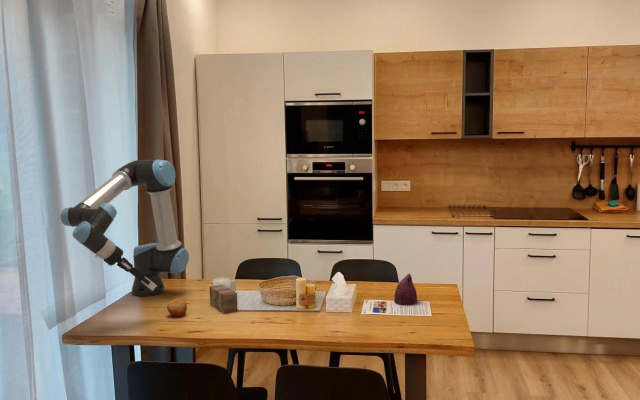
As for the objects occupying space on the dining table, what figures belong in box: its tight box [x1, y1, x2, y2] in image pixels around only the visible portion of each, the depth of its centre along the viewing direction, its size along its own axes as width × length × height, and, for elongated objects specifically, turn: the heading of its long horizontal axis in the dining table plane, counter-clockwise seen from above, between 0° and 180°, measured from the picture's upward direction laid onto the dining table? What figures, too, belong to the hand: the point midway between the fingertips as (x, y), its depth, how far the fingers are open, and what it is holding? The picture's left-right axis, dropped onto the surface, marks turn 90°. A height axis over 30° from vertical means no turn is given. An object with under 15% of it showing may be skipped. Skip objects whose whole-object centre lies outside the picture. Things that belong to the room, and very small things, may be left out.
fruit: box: [166, 297, 188, 318], centre depth 246 cm, size 8×8×8 cm
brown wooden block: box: [209, 285, 239, 314], centre depth 254 cm, size 16×6×8 cm, turn 32°
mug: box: [212, 276, 237, 292], centre depth 269 cm, size 8×11×9 cm
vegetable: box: [393, 273, 418, 306], centre depth 256 cm, size 10×10×15 cm
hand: (154, 287), depth 239 cm, fingers closed
